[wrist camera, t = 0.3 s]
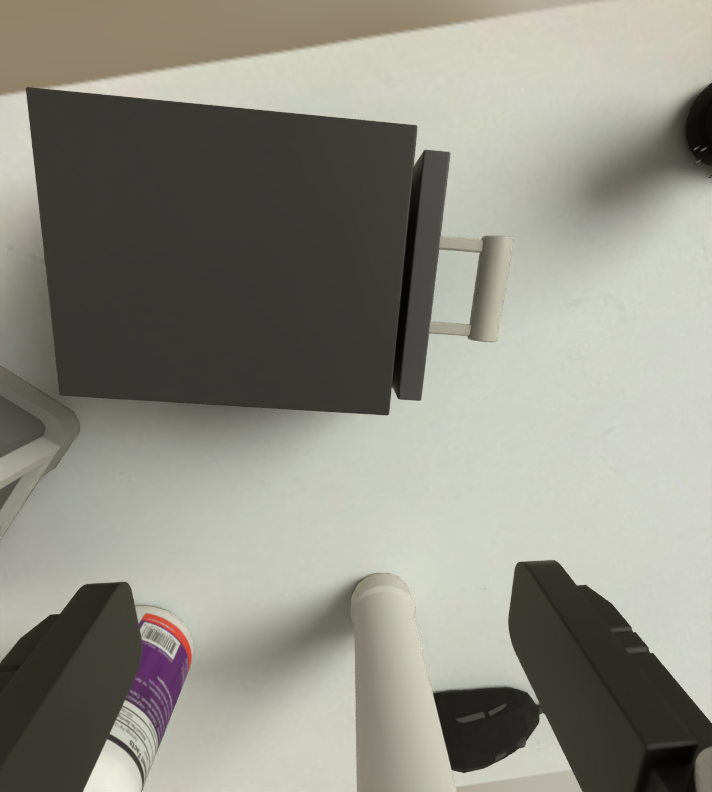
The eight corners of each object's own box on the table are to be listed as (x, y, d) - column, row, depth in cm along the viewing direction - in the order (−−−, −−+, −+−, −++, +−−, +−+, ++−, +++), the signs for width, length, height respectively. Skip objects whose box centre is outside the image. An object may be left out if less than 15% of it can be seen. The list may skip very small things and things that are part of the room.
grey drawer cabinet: (391, 180, 27) (417, 124, 17) (374, 374, 30) (389, 415, 21) (138, 157, 26) (24, 86, 16) (149, 359, 29) (59, 395, 20)
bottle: (355, 627, 35) (386, 1365, 11) (344, 576, 34) (353, 1290, 10) (416, 617, 35) (577, 1337, 11) (407, 565, 34) (570, 1257, 10)
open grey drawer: (488, 196, 26) (548, 160, 19) (463, 374, 29) (505, 406, 22) (180, 168, 25) (111, 119, 18) (185, 356, 28) (128, 382, 21)
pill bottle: (104, 676, 36) (-46, 926, 22) (94, 597, 34) (-79, 817, 20) (200, 677, 36) (112, 923, 22) (196, 599, 34) (96, 816, 20)
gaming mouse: (565, 727, 39) (590, 775, 35) (408, 745, 39) (415, 796, 35) (567, 674, 38) (593, 719, 34) (402, 693, 37) (410, 740, 34)
